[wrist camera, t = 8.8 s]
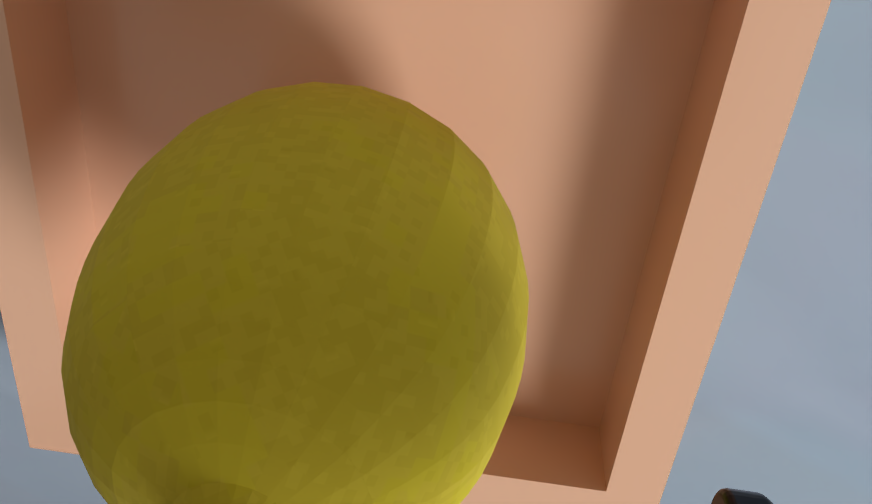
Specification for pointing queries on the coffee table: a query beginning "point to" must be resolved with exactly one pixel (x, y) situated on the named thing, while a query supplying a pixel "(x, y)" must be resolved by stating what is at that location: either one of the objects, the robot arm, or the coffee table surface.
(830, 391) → the coffee table surface
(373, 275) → the lemon
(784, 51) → the dish
